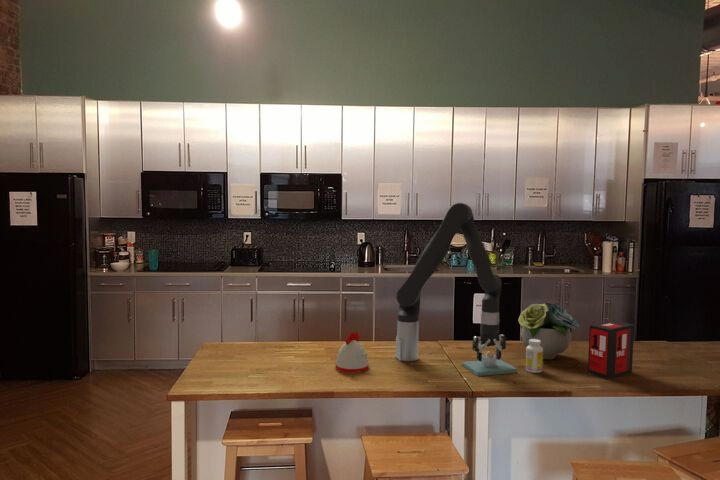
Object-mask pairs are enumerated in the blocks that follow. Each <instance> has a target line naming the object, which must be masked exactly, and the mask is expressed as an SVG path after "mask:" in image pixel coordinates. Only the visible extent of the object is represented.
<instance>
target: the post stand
mask: <svg viewBox="0 0 720 480" xmlns="http://www.w3.org/2000/svg"><path fill="white" fill-rule="evenodd" d="M485 354H486V357H492V354H493V353H492V351H491V350H490V351H489V350H488V351H486V353H485ZM461 366H462V367H463V368H465V369H466V370H467V371H469V372H471V373H472V374H473V375H475V376H477V377H478V376H479V377H480V376H482V377H483V376H491V375H503V374H504V375H505V374H513V373H517V372H518V368H516V367H515V366H514V365H512V364H510V363H507V362H506V361H504V360H502V358H500V360H498V359H497V366H496V367H493V368H488V367H483V366H482V365H481V361H478V360H471V361H461Z"/></svg>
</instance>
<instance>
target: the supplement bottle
mask: <svg viewBox="0 0 720 480" xmlns="http://www.w3.org/2000/svg"><path fill="white" fill-rule="evenodd" d="M540 344H541V341H540V340H537V339H530V340H529V346H527V348H526V347H525V370H526V371H527V372H529V373H531V374H533V373H534V374H539V373H542V372H543V370H544V369H543V368H544V359H543V348H542V347H541V346H540Z"/></svg>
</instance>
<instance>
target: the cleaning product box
mask: <svg viewBox="0 0 720 480" xmlns="http://www.w3.org/2000/svg"><path fill="white" fill-rule="evenodd" d="M588 338H589V340H588V356H587V357H588V361H587V374H589V373H590V374H589V375H592V374H593V375H592V376H595V377H599V378H602V379H605V380H611V379H614V378H618V377H621V376H625V375H628V374H632V373H633V360H634V359H633V355H634V338H635V325H634V324H633V323H632V324H631V323H627V322H623V321H617V320H610V321H606V322H605V321H604V322H600V323H594V324H589V335H588Z"/></svg>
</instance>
